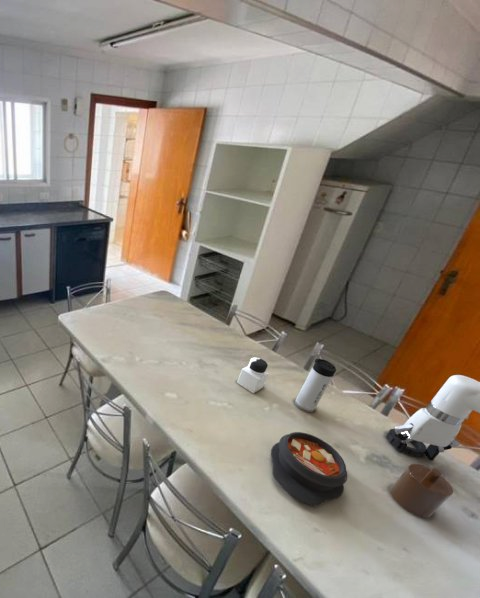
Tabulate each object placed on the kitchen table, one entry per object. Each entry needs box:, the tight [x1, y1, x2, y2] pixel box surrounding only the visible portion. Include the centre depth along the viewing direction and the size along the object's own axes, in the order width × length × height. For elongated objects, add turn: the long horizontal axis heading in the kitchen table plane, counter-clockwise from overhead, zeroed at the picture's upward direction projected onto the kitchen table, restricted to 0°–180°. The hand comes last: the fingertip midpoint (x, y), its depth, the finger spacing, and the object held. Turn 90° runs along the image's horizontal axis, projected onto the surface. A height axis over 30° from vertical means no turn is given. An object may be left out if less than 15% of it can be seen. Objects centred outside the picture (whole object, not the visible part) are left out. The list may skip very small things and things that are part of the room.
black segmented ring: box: [385, 428, 427, 458], centre depth 108 cm, size 9×9×2 cm
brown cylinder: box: [389, 463, 454, 519], centre depth 88 cm, size 9×9×13 cm
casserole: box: [270, 431, 348, 507], centre depth 95 cm, size 25×19×8 cm
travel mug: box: [294, 358, 337, 413], centre depth 117 cm, size 6×7×20 cm
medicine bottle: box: [236, 357, 270, 394], centre depth 127 cm, size 7×7×12 cm
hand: (412, 452), depth 105 cm, fingers closed on black segmented ring, 7 cm apart
